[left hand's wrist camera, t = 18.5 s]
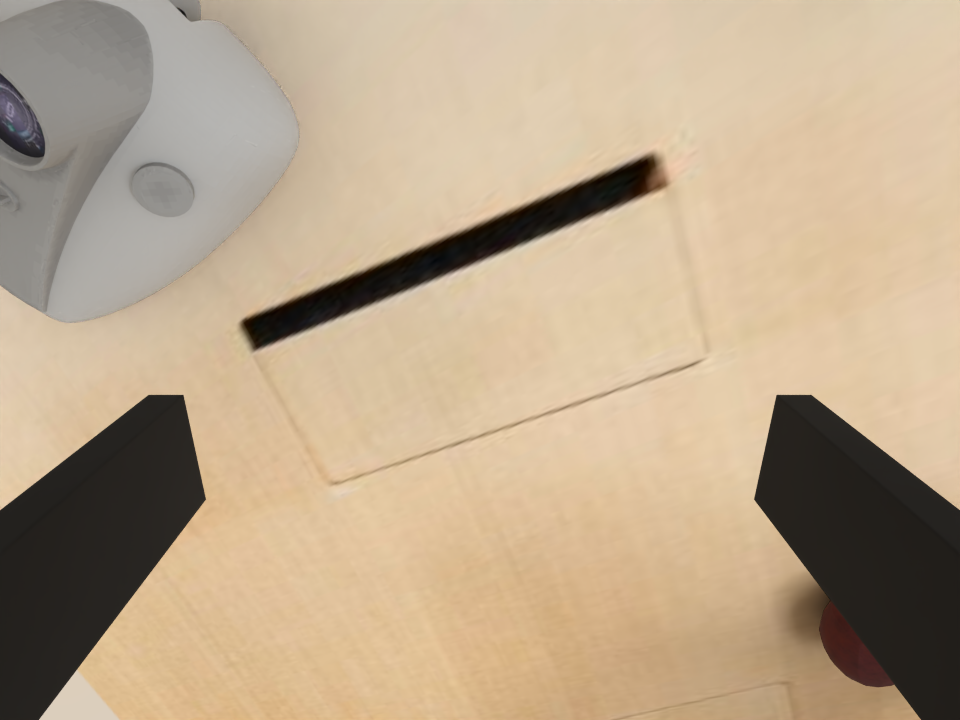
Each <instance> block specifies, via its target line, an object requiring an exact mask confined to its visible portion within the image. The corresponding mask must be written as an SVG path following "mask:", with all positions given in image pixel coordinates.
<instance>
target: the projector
mask: <svg viewBox="0 0 960 720" xmlns="http://www.w3.org/2000/svg"><path fill="white" fill-rule="evenodd" d="M200 18H201V6H200V2H199V0H0V285H1V286H2V287H3V288H5V289H6V290H7V291H9V292H10V293H11V294H13V295H14V296H16V297H17V298H19V299H20V300H22V301H24V302H25V303H27V304H28V305H30V306H32V307H34V308H36V309H37V310H39V311H40V312H42V313H44V314H45V315H47V316H49V317H51V318H53V319H55V320H58V321H61V322H65V323H76V322H82V321H87V320H91V319H95V318H99V317H102V316H105V315H108V314H111V313H113V312H116V311H118V310H121V309H123V308H126V307H128V306H130V305H132V304H134V303H137V302H139V301H140V300H142V299H144V298H146V297H148V296H150V295H152V294H154V293H156V292H157V291H159V290H161V289H162V288H164V287H166V286H167V285H169V284H170V283H172V282H173V281H175V280H176V279H178V278H179V277H181V276H182V275H184V274H185V273H187V272H188V271H189V270H190V269H192V268H193V267H194V266H196V265H197V264H198V263H200V262H201V261H202V260H203V259H204V258H206V257H207V256H208V255H209V254H210V253H211V252H212V251H214V250H215V249H216V248H217V247H218V246H219V245H220V244H222V243H223V242H224V241H225V240H226V239H227V238H228V237H229V236H230V235H231V234H232V233H233V232H234V231H235V230H236V229H237V228H238V227H239V226H240V225H241V224H242V223H243V222H244V221H245V220H246V218H247V217H248V216H249V215H250V214H251V213H252V212H253V211H254V210H255V209H256V208H257V206H258V205H259V204H260V203H261V202H262V201H263V199H264V198H265V197H266V196H267V195H268V194H269V192H270V191H271V190H272V188H273V187H274V186H275V185H276V183H277V182H278V181H279V179H280V178H281V176H282V175H283V174H284V172H285V171H286V169H287V168H288V166H289V164H290V162H291V161H292V159H293V157H294V155H295V152H296V150H297V147H298V142H299V126H298V122H297V118H296V115H295V112H294V110H293V107H292V105H291V103H290V101H289V100H288V98H287V97H286V95H285V94H284V92H283V91H282V89H281V88H280V86H279V85H278V84H277V82H276V81H275V80H274V78H273V77H272V76H271V75H270V73H269V72H268V71H267V70H266V68H265V67H264V66H263V65H262V64H261V63H260V62H259V60H258V59H257V58H256V57H255V56H254V55H253V54H252V53H251V52H250V51H249V49H248V48H247V47H246V46H245V45H244V44H243V43H242V42H241V41H240V40H239V39H238V38H237V37H236V36H235V35H234V34H233V33H232V32H231V31H230V30H229V29H228V28H227V27H226V26H225V25H224V24H222V23H221V22H218V21H214V20H200Z"/></svg>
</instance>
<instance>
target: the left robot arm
mask: <svg viewBox="0 0 960 720" xmlns="http://www.w3.org/2000/svg"><path fill="white" fill-rule="evenodd" d="M205 500H206V498H205V493H204V489H203V484H202V479H201V475H200V470H199V465H198V461H197V456H196V452H195V447H194V442H193V438H192V433H191V428H190V424H189V419H188V414H187V410H186V405H185V400H184V396H183V395H148V396H147V397H146V398H144V399H143V400H142V401H140V402H139V403H138V404H137V405H135V406H134V407H133V408H131V409H130V410H129V411H127V412H126V413H125V414H124V415H122V416H121V417H120V418H118V419H117V420H116V421H115V422H113V423H112V424H111V425H109V426H108V427H107V428H106V429H104V430H103V431H102V432H100V433H99V434H98V435H97V436H95V437H94V438H93V439H91V440H90V441H89V442H88V443H86V444H85V445H84V446H82V447H81V448H80V449H79V450H77V451H76V452H75V453H73V454H72V455H71V456H70V457H68V458H67V459H66V460H64V461H63V462H62V463H61V464H59V465H58V466H57V467H55V468H54V469H53V470H52V471H50V472H49V473H48V474H46V475H45V476H44V477H42V478H41V479H40V480H39V481H37V482H36V483H35V484H33V485H32V486H31V487H30V488H28V489H27V490H26V491H24V492H23V493H22V494H21V495H19V496H18V497H17V498H15V499H14V500H13V501H12V502H10V503H9V504H8V505H6V506H5V507H4V508H3V509H1V510H0V720H39V719H40V717H41V716H42V715H43V713H44V712H45V711H46V710H47V708H48V707H49V706H50V704H51V703H52V702H53V700H54V699H55V698H56V696H57V695H58V694H59V692H60V691H61V690H62V688H63V687H64V686H65V685H66V683H67V682H68V681H69V679H70V678H71V677H72V675H73V674H74V673H75V671H76V670H77V669H78V667H79V666H80V665H81V663H82V662H83V661H84V659H85V658H86V657H87V656H88V654H89V653H90V652H91V650H92V649H93V648H94V646H95V645H96V644H97V642H98V641H99V640H100V638H101V637H102V636H103V634H104V633H105V632H106V630H107V629H108V628H109V626H110V625H111V624H112V623H113V621H114V620H115V619H116V617H117V616H118V615H119V613H120V612H121V611H122V609H123V608H124V607H125V605H126V604H127V603H128V601H129V600H130V599H131V597H132V596H133V595H134V594H135V592H136V591H137V590H138V588H139V587H140V586H141V584H142V583H143V582H144V580H145V579H146V578H147V576H148V575H149V574H150V572H151V571H152V570H153V568H154V567H155V566H156V564H157V563H158V562H159V561H160V559H161V558H162V557H163V555H164V554H165V553H166V551H167V550H168V549H169V547H170V546H171V545H172V543H173V542H174V541H175V539H176V538H177V537H178V535H179V534H180V533H181V532H182V530H183V529H184V528H185V526H186V525H187V524H188V522H189V521H190V520H191V518H192V517H193V516H194V514H195V513H196V512H197V510H198V509H199V508H200V506H201V505H202V504H203V503H204V501H205ZM754 500H755V501H756V503H757V504H758V505H759V506H760V508H761V509H762V510H763V512H764V513H765V514H766V516H767V517H768V518H769V520H770V521H771V522H772V524H773V525H774V526H775V528H776V529H777V530H778V532H779V533H780V534H781V535H782V537H783V538H784V539H785V541H786V542H787V543H788V545H789V546H790V547H791V549H792V550H793V551H794V553H795V554H796V555H797V557H798V558H799V559H800V561H801V562H802V563H803V564H804V566H805V567H806V568H807V570H808V571H809V572H810V574H811V575H812V576H813V578H814V579H815V580H816V582H817V583H818V584H819V586H820V587H821V588H822V590H823V591H824V592H825V594H826V595H827V596H828V597H829V599H830V600H831V601H832V603H833V604H834V605H835V607H836V608H837V609H838V611H839V612H840V613H841V615H842V616H843V617H844V619H845V620H846V621H847V623H848V624H849V625H850V626H851V628H852V629H853V630H854V632H855V633H856V634H857V636H858V637H859V638H860V640H861V641H862V642H863V644H864V645H865V646H866V648H867V649H868V650H869V652H870V653H871V654H872V656H873V657H874V658H875V659H876V661H877V662H878V663H879V665H880V666H881V667H882V669H883V670H884V671H885V673H886V674H887V675H888V677H889V678H890V679H891V681H892V682H893V683H894V685H895V686H896V687H897V688H898V690H899V691H900V692H901V694H902V695H903V696H904V698H905V699H906V700H907V702H908V703H909V704H910V706H911V707H912V708H913V710H914V711H915V712H916V714H917V715H918V716H919V717H920V719H921V720H960V510H959V509H957V508H956V507H955V506H954V505H952V504H951V503H950V502H948V501H947V500H946V499H945V498H943V497H942V496H941V495H939V494H938V493H937V492H936V491H934V490H933V489H932V488H930V487H929V486H928V485H927V484H925V483H924V482H923V481H921V480H920V479H919V478H918V477H916V476H915V475H914V474H912V473H911V472H910V471H908V470H907V469H906V468H905V467H903V466H902V465H901V464H899V463H898V462H897V461H896V460H894V459H893V458H892V457H890V456H889V455H888V454H887V453H885V452H884V451H883V450H881V449H880V448H879V447H878V446H876V445H875V444H874V443H872V442H871V441H870V440H869V439H867V438H866V437H865V436H863V435H862V434H861V433H860V432H858V431H857V430H856V429H854V428H853V427H852V426H851V425H849V424H848V423H847V422H845V421H844V420H843V419H842V418H840V417H839V416H838V415H836V414H835V413H834V412H832V411H831V410H830V409H829V408H827V407H826V406H825V405H823V404H822V403H821V402H820V401H818V400H817V399H816V398H814V397H813V396H812V395H777V396H776V400H775V405H774V410H773V414H772V419H771V424H770V428H769V433H768V438H767V442H766V447H765V452H764V456H763V461H762V465H761V470H760V475H759V479H758V484H757V489H756V493H755V498H754Z"/></svg>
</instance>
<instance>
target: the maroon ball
mask: <svg viewBox="0 0 960 720" xmlns="http://www.w3.org/2000/svg"><path fill="white" fill-rule="evenodd" d="M819 631H820V635H821V639H822V642H823V646H824V648H825V650H826V652H827V654H828V656H829V657H830V659H831V660H832V662H833V663H834V664H835V665H836V666H837V667H838V668H839V669H840V670H841V671H842V672H843V673H844V674H845V675H846V676H847V677H849V678H851V679H852V680H854V681H857V682H859V683H861V684H863V685H865V686H873V687H884V686H892V685H894V683H893V682H892V681H891V679H890V678H889V677H888V675H887V674H886V673H885V671H884V670H883V669H882V667H881V666H880V665H879V663H878V662H877V661H876V659H875V658H874V657H873V656H872V654H871V653H870V652H869V650H868V649H867V648H866V646H865V645H864V644H863V642H862V641H861V640H860V638H859V637H858V636H857V634H856V633H855V632H854V630H853V629H852V628H851V626H850V625H849V624H848V623H847V621H846V620H845V619H844V617H843V616H842V615H841V613H840V612H839V611H838V609H837V608H836V607H835V605H834V604H833V603H832V601H830V602H829V603H828V605H827V606H826V608H825V609H824V611H823V615H822V618H821V622H820V627H819Z"/></svg>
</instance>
